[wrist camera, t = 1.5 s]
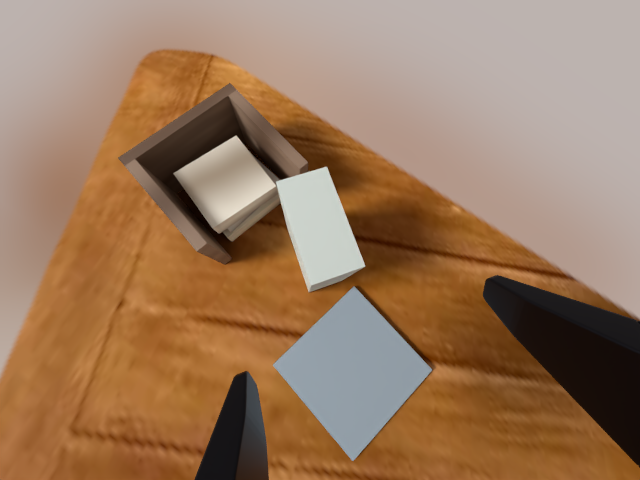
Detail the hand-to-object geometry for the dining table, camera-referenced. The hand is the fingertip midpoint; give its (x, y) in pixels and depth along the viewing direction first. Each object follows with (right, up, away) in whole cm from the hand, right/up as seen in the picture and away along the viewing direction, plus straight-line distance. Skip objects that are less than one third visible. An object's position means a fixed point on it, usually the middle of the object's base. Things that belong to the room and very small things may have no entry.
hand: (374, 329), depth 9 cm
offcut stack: (-9, +7, +15) cm, 19 cm away
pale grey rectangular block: (-2, +2, +14) cm, 14 cm away
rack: (-9, +7, +15) cm, 19 cm away
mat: (+1, -7, +12) cm, 14 cm away
